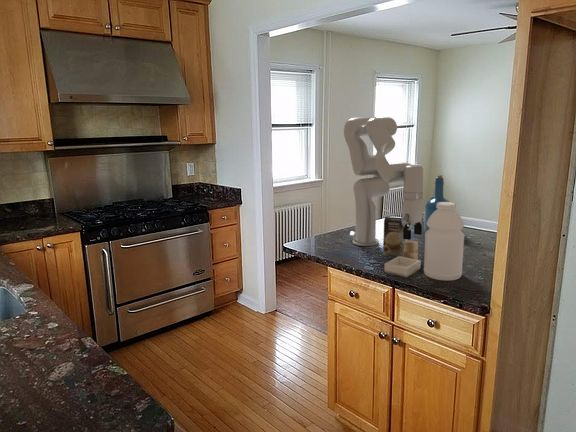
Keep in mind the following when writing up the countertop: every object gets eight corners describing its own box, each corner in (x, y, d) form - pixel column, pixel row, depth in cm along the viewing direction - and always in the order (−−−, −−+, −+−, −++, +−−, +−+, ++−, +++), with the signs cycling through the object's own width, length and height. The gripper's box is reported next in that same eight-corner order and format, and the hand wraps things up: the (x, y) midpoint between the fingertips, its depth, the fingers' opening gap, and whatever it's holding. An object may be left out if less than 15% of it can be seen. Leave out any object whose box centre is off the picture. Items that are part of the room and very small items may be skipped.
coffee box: (382, 255, 191) (383, 219, 187) (384, 250, 197) (384, 216, 193) (403, 256, 188) (404, 220, 184) (404, 252, 194) (405, 217, 190)
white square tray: (384, 272, 170) (384, 263, 170) (398, 264, 179) (398, 256, 178) (406, 277, 164) (407, 268, 163) (420, 268, 173) (420, 260, 172)
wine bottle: (454, 235, 217) (457, 176, 210) (428, 236, 217) (430, 177, 210) (445, 228, 230) (448, 172, 223) (420, 229, 230) (422, 173, 223)
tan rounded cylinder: (403, 262, 181) (404, 241, 179) (407, 260, 184) (408, 239, 181) (413, 264, 178) (414, 243, 176) (417, 262, 181) (418, 241, 179)
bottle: (457, 283, 156) (462, 208, 150) (419, 277, 164) (421, 205, 157) (465, 271, 168) (469, 201, 162) (428, 266, 175) (431, 198, 169)
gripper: (414, 192, 183) (413, 231, 186) (394, 198, 170) (394, 240, 174) (431, 193, 178) (430, 233, 181) (411, 199, 165) (411, 242, 169)
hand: (412, 236), depth 178 cm, fingers open, 9 cm apart
